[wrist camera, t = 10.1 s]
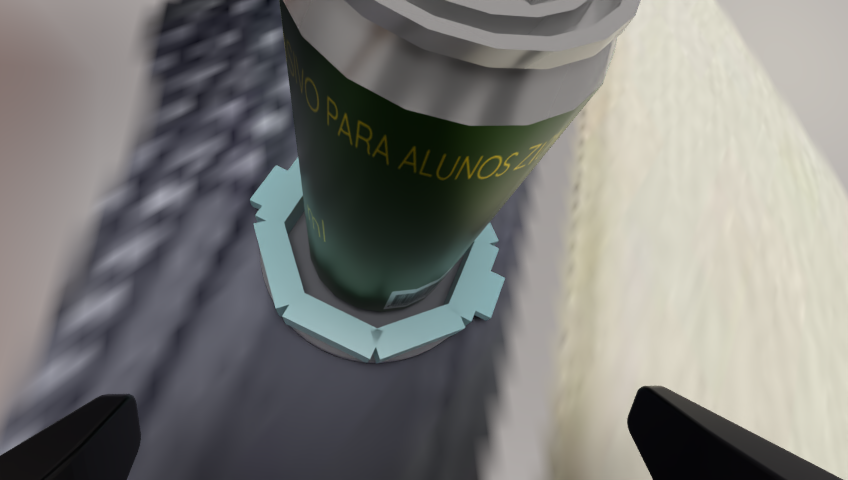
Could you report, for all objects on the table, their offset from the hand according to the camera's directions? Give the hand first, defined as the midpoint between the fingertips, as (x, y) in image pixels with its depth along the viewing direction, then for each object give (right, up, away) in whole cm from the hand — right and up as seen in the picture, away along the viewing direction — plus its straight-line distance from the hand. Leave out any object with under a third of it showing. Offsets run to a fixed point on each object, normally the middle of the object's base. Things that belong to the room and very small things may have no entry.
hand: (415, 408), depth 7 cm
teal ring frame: (-2, +3, +10) cm, 10 cm away
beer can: (-2, +2, +9) cm, 10 cm away
